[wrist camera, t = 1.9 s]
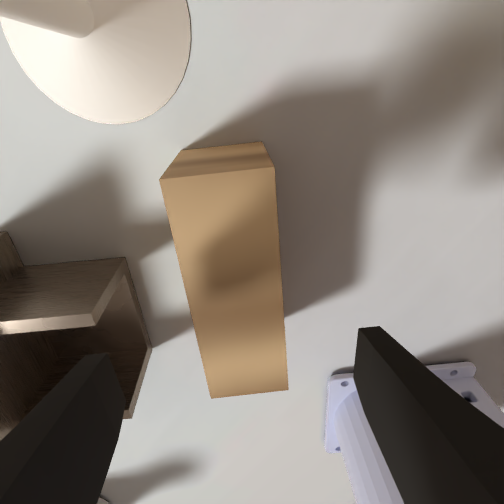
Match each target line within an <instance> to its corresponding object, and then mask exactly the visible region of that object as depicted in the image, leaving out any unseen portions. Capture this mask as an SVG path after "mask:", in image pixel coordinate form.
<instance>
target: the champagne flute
mask: <svg viewBox="0 0 504 504" xmlns="http://www.w3.org/2000/svg"><path fill="white" fill-rule="evenodd" d="M0 21H1V25H2V28H3V32H4V34H5V37H6V39H7V41H8V43H9V46H10V48H11V50H12V52H13V54H14V56H15V57H16V59H17V61H18V62H19V64H20V65H21V67H22V68H23V70H24V72H25V73H26V74H27V75H28V77H29V78H30V79H31V80H32V81H33V82H34V84H35V85H36V86H37V87H38V88H39V89H40V90H41V91H42V92H43V93H44V94H45V95H47V96H48V97H49V98H50V99H51V100H52V101H54V102H55V103H56V104H58V105H59V106H61V107H63V108H64V109H66V110H67V111H69V112H70V113H72V114H75V115H77V116H80V117H82V118H84V119H87V120H90V121H94V122H99V123H103V124H125V123H130V122H136V121H139V120H141V119H143V118H145V117H148V116H150V115H152V114H153V113H155V112H156V111H157V110H159V109H160V108H161V107H163V106H164V105H165V104H166V103H167V101H168V100H169V99H170V98H171V97H172V96H173V94H174V93H175V92H176V90H177V88H178V86H179V84H180V82H181V80H182V79H183V76H184V73H185V69H186V66H187V63H188V60H189V51H190V43H191V34H190V17H189V13H188V8H187V3H186V0H0Z"/></svg>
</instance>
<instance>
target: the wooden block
mask: <svg viewBox="0 0 504 504" xmlns="http://www.w3.org/2000/svg"><path fill="white" fill-rule="evenodd" d="M159 181H160V185H161V189H162V194H163V198H164V202H165V206H166V211H167V215H168V219H169V223H170V227H171V232H172V236H173V240H174V244H175V249H176V253H177V257H178V261H179V265H180V270H181V274H182V278H183V282H184V287H185V291H186V295H187V299H188V303H189V308H190V312H191V316H192V320H193V325H194V329H195V333H196V337H197V341H198V346H199V350H200V354H201V358H202V362H203V367H204V371H205V375H206V379H207V384H208V388H209V392H210V396H211V399H212V398H221V397H230V396H238V395H247V394H256V393H265V392H274V391H283V390H288V374H287V358H286V342H285V326H284V310H283V294H282V278H281V262H280V247H279V231H278V215H277V199H276V183H275V167H274V165H273V163H272V161H271V159H270V157H269V155H268V153H267V151H266V149H265V147H264V145H263V143H262V142H253V143H244V144H235V145H226V146H217V147H208V148H199V149H190V150H181V151H180V152H179V154H178V155H177V156H176V158H175V159H174V160H173V162H172V163H171V164H170V166H169V167H168V168H167V170H166V171H165V172H164V174H163V175H162V176H161V178H160V179H159Z"/></svg>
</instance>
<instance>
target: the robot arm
mask: <svg viewBox="0 0 504 504" xmlns="http://www.w3.org/2000/svg"><path fill="white" fill-rule="evenodd" d="M475 372H476V367H475V366H474V364H473V363H471V362H459V363H448V364H438V365H428V366H424V365H423V364H422V363H421V362H420V361H419V360H417V359H416V358H415V357H414V356H413V355H412V354H411V353H409V352H408V351H407V350H406V349H405V348H404V347H403V346H401V345H400V344H399V343H398V342H397V341H396V340H395V339H394V338H392V337H391V336H390V335H389V334H388V333H387V332H386V331H384V330H383V329H382V328H381V327H380V326H377V327H367V328H359V329H358V338H357V347H356V356H355V365H354V373H347V374H337V375H333V376H331V377H330V378H329V379H328V388H327V406H326V423H325V441H324V447H325V450H326V452H328V453H339V452H341V453H342V456H343V459H344V463H345V466H346V469H347V473H348V476H349V479H350V483H351V486H352V489H353V493H354V496H355V499H356V503H357V504H504V413H503V412H502V411H501V409H500V408H499V407H498V406H497V405H496V403H495V402H494V401H493V400H492V399H491V397H490V396H489V395H488V394H487V392H486V391H485V390H484V389H483V388H482V386H481V385H480V384H479V383H478V382H477V380H476V379H475V378H474V375H475ZM125 404H126V399H125V396H124V394H123V391H122V389H121V386H120V384H119V381H118V379H117V376H116V374H115V371H114V368H113V366H112V363H111V361H110V358H109V356H108V353H100V354H90V355H85V356H84V357H83V358H82V359H81V360H80V361H79V362H78V363H77V364H76V365H75V366H74V367H73V368H72V369H71V370H70V371H69V372H68V373H67V374H66V375H65V376H64V377H63V379H62V380H61V381H60V382H59V383H58V384H57V385H56V386H55V387H54V388H53V389H52V390H51V391H50V392H49V393H48V394H47V395H46V396H45V397H44V398H43V399H42V400H41V401H40V402H39V403H38V404H37V405H36V406H35V407H34V408H33V409H32V410H31V411H30V412H29V413H28V414H27V415H26V416H25V417H24V418H23V419H22V420H21V421H20V422H19V423H18V424H17V425H16V426H15V427H14V428H13V429H12V430H11V431H10V432H9V433H8V434H7V435H6V436H5V437H4V438H3V439H2V440H1V441H0V504H97V502H98V499H99V496H100V493H101V490H102V487H103V484H104V481H105V478H106V475H107V472H108V469H109V466H110V463H111V460H112V457H113V454H114V451H115V448H116V444H117V441H118V438H119V433H120V429H121V424H122V419H123V414H124V409H125Z"/></svg>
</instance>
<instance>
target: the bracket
mask: <svg viewBox="0 0 504 504" xmlns="http://www.w3.org/2000/svg"><path fill="white" fill-rule="evenodd" d="M151 352H152V346H151V343H150V340H149V336H148V333H147V330H146V326H145V323H144V319H143V316H142V313H141V309H140V306H139V303H138V299H137V296H136V292H135V289H134V286H133V282H132V279H131V276H130V272H129V269H128V266H127V262H126V259H125V257H121V258H110V259H99V260H88V261H77V262H66V263H55V264H44V265H33V266H23V264H22V262H21V260H20V258H19V256H18V253H17V251H16V249H15V247H14V245H13V243H12V241H11V239H10V237H9V235H8V232H7V231H6V232H0V441H1V440H2V439H3V438H4V437H5V436H6V435H7V434H8V433H9V432H10V431H11V430H12V429H13V428H14V427H15V426H16V425H17V424H18V423H19V422H20V421H21V420H22V419H23V418H24V417H25V416H26V415H27V414H28V413H29V412H30V411H31V410H32V409H33V408H34V407H35V406H36V405H37V404H38V403H39V402H40V401H41V400H42V399H43V398H44V397H45V396H46V395H47V394H48V393H49V392H50V391H51V390H52V389H53V388H54V387H55V386H56V385H57V384H58V383H59V382H60V381H61V380H62V379H63V377H64V376H65V375H66V374H67V373H68V372H69V371H70V370H71V369H72V368H73V367H74V366H75V365H76V364H77V363H78V362H79V361H80V360H81V359H82V358H83V357H84V356H85V355H90V354H100V353H108V356H109V358H110V361H111V363H112V366H113V368H114V371H115V374H116V376H117V379H118V381H119V384H120V386H121V389H122V391H123V394H124V396H125V399H126V404H125V409H124V414H123V419H130V418H132V416H133V413H134V409H135V406H136V403H137V399H138V396H139V392H140V389H141V386H142V382H143V379H144V375H145V372H146V369H147V365H148V362H149V359H150V355H151Z"/></svg>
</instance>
